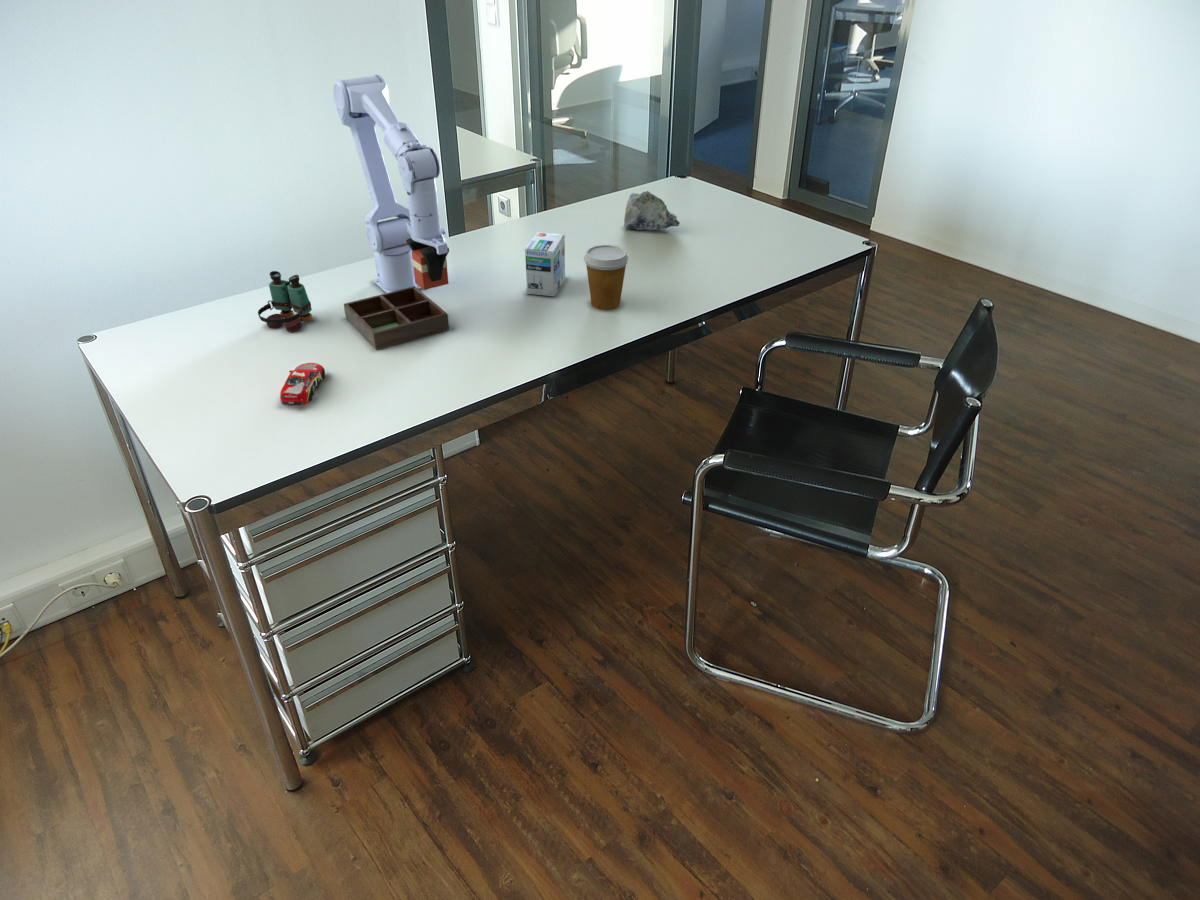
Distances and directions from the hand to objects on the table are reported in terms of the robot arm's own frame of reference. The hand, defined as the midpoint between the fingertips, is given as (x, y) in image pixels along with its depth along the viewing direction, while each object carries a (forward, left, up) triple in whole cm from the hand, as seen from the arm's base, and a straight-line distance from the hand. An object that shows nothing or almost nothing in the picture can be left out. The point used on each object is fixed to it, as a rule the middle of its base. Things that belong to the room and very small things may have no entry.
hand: (430, 275), depth 178 cm
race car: (+15, -33, -9) cm, 38 cm away
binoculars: (-12, -28, -9) cm, 31 cm away
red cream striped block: (0, 0, -2) cm, 2 cm away
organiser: (0, -9, -9) cm, 12 cm away
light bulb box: (+1, +27, -9) cm, 29 cm away
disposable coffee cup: (+16, +33, -9) cm, 38 cm away
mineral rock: (-14, +68, -9) cm, 71 cm away
